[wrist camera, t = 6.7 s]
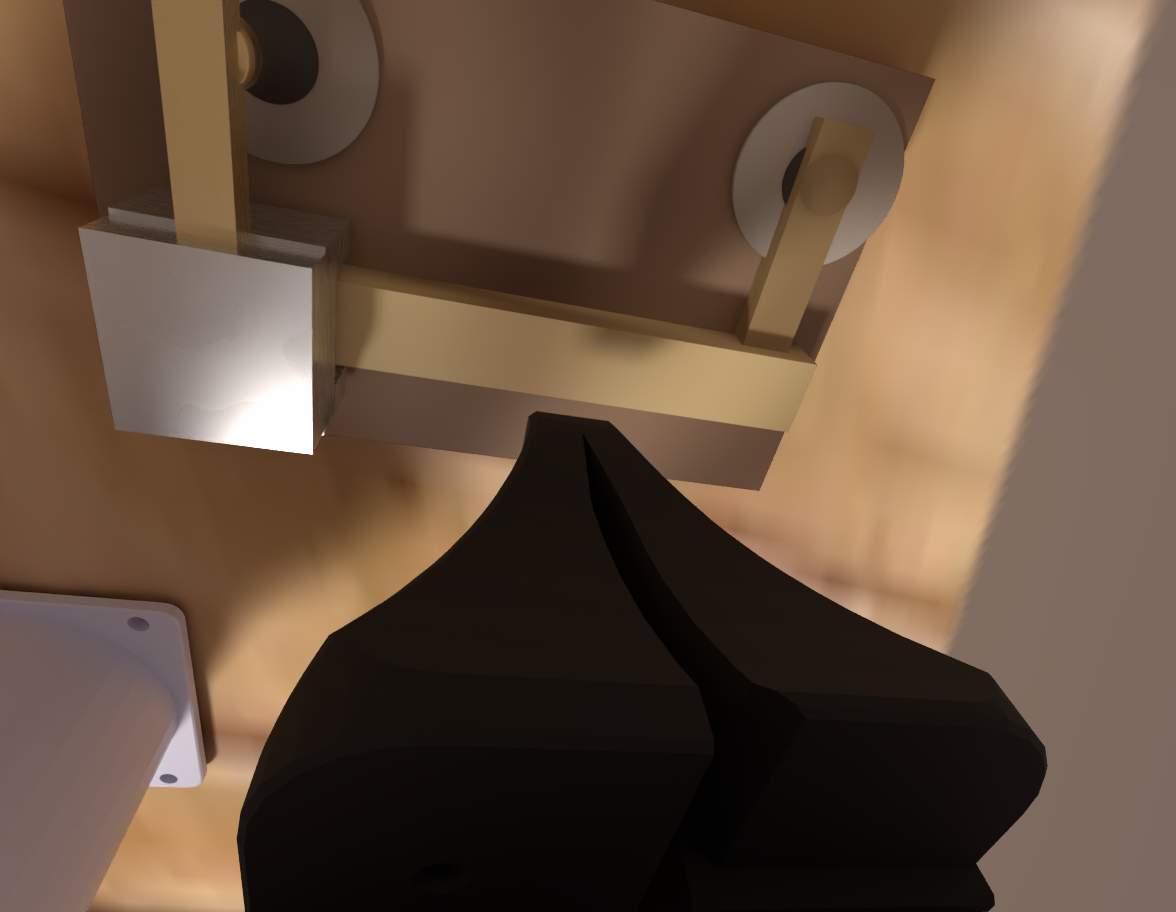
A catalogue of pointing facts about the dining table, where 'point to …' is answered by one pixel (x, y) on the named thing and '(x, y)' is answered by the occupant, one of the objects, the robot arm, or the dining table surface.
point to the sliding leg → (215, 266)
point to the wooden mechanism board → (548, 206)
